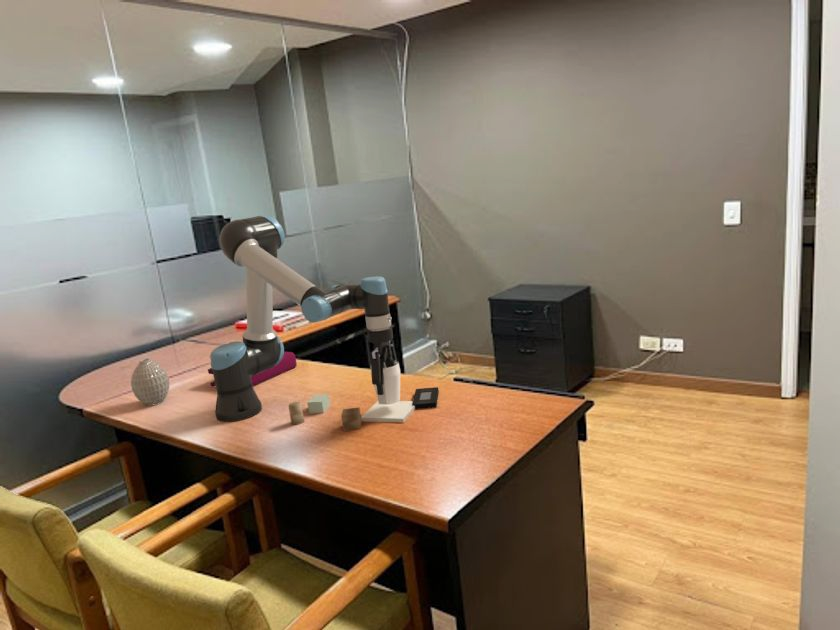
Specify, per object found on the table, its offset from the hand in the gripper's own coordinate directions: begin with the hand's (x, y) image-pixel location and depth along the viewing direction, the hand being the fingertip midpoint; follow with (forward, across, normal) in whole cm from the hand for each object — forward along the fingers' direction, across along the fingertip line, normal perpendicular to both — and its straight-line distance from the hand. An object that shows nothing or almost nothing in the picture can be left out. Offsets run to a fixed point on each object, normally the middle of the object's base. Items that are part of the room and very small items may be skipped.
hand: (388, 398), depth 193 cm
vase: (+5, +5, +97) cm, 97 cm away
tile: (+5, 0, 0) cm, 5 cm away
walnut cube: (+5, -11, +8) cm, 15 cm away
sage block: (+5, +2, +26) cm, 27 cm away
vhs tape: (+5, +11, -8) cm, 15 cm away
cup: (+1, 0, 0) cm, 1 cm away
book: (+5, +34, +73) cm, 81 cm away
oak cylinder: (+5, -9, +28) cm, 30 cm away
